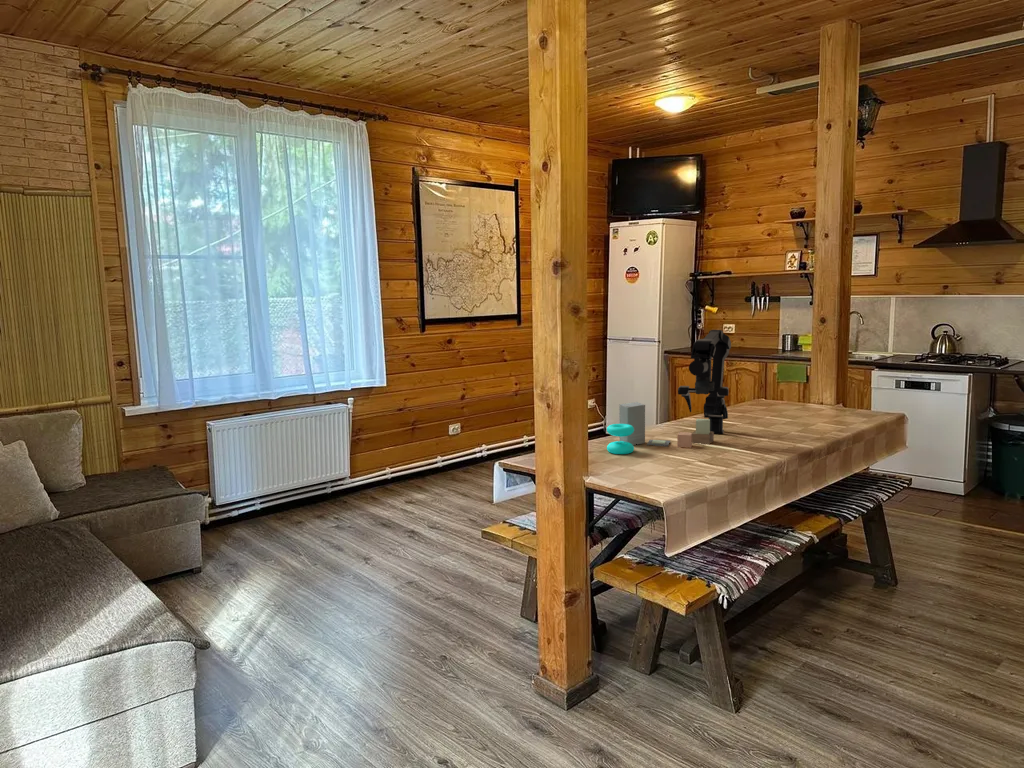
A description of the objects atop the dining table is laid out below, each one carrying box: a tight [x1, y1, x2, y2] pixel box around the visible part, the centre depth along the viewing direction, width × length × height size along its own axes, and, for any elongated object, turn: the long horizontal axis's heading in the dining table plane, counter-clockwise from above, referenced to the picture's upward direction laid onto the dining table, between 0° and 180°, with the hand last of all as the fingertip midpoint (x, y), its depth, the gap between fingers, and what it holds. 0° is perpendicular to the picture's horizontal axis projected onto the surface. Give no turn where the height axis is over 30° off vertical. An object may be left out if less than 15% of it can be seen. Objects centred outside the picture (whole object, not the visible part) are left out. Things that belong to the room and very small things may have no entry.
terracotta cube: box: [676, 431, 693, 449], centre depth 269 cm, size 5×5×5 cm
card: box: [646, 439, 671, 447], centre depth 275 cm, size 8×8×1 cm
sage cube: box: [695, 418, 710, 434], centre depth 275 cm, size 5×5×5 cm
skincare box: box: [618, 401, 646, 446], centre depth 275 cm, size 8×7×16 cm
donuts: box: [606, 423, 635, 455], centre depth 262 cm, size 10×10×10 cm
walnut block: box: [691, 430, 715, 445], centre depth 276 cm, size 7×7×4 cm
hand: (702, 412), depth 275 cm, fingers open, 9 cm apart
